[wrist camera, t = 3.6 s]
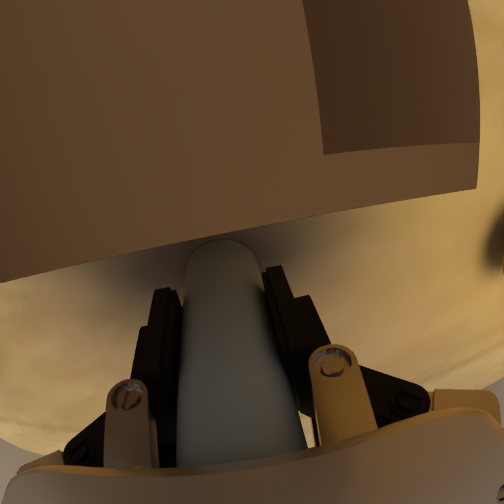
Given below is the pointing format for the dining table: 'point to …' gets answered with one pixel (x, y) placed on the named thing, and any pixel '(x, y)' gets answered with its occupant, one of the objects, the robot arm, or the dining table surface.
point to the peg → (231, 364)
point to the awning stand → (222, 117)
